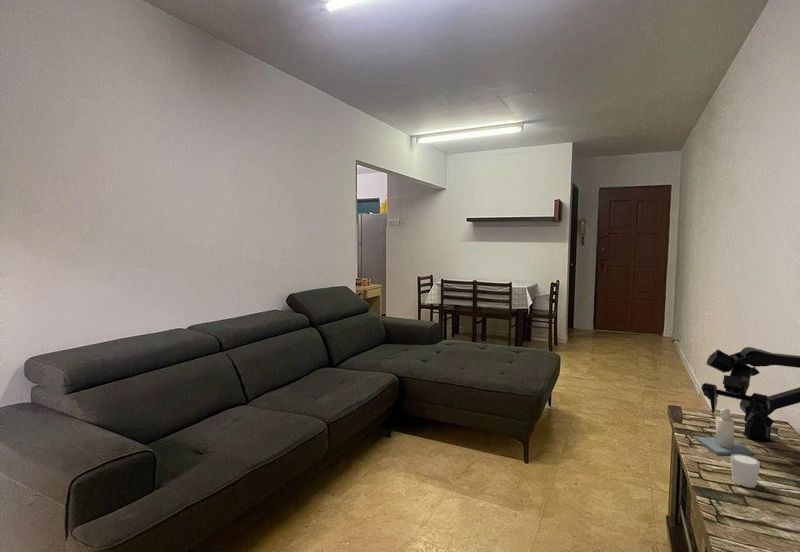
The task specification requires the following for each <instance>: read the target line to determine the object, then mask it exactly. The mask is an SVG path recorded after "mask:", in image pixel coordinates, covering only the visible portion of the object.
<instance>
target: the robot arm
mask: <svg viewBox="0 0 800 552" xmlns="http://www.w3.org/2000/svg"><path fill="white" fill-rule="evenodd" d="M706 365H707V366H709V367H711V368H713V369H715V370H717V371H719V372H721V373H723V374H725V373H730V374H729V375H727V374H725V375H723V379H722V384H723V388H724V389H725V390H723V389H718V387H717V385H716V384H712V383H708V382H704V383H702V385H701V387H700V388H701V391H702V394H703V395H704V397H706V398H707V399H708V400H710V406H711V414H714V413H715V412H716V408H717V404H718V397H719V396H722V397H727V398H731V399H736V400H740V402H739V408H740V410H741V411H742V412H743V413H744V414H745V415H744V422H745V424H744V432H742V435H743V436H746V437H747V438H749V439H751V440H752V441H755V442H775V439H773V438H771V427H772V425H773V424H774V420H773V419H772V418H771V417H769V416H770V415H771V414H772V413H774V412H775V411H776V410H778V409H782V408H786V407H789V406H793V405H796V404H799V403H800V386H799V387H796V388H793V389H789V390H785V391H782V392H779V393H776V394H772V395H766V394H761V393H757V392H753V393H752V395H747V391H748V390H749V387H750V382H751V377H755V376H756V375H759V374H760V371H759V370H758V369H757V368H758V367H759V368H760V367H770V366H780V367H788V368H789V367H790V368H797V369H798V368H800V355H794V354H785V353H776V352H775V353H773V352H771V351H767V350H763V349H759V348H756V347H750V346H747V347H746V346H745V347H744V348H743V349H741V350H740V351H739V352H735V353H733V354H730V355H729V354H728V353H725V352H724V351H722V350H720V349H718V348H717V349H716V351H714V352H712V354H710V355H709V356H708V358H707V359H706Z"/></svg>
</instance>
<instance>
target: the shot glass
mask: <svg viewBox="0 0 800 552" xmlns="http://www.w3.org/2000/svg"><path fill="white" fill-rule="evenodd" d="M730 466H731V467H730V468H731V478H732V481H733V482H734V483H735V484H737V485H739V486H741V485H742V487H745V488H756V487H757V486H756V485H757V484H758V478H759V472H760V466H761V462H760V461H759V460H758V459H756V458H755V457H752V456H751V455H741V454H733V455H730ZM755 486H756V487H755Z"/></svg>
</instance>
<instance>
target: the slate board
mask: <svg viewBox="0 0 800 552" xmlns="http://www.w3.org/2000/svg"><path fill="white" fill-rule="evenodd" d="M695 441H696V442H698V443H699V444H701V446H703V447H704V448H706V449H707V450H708V451H710V452H712V453H713V454H715V455H716V456H717V455H718V456H719V455H722V456H725V455H729V456H731V455H733V454H741V455H745V454H748V455H747V456H750V455H749V454H753V455H754V451H753V450H752V449H749V448H748V447H746V446H745V445H743V444H742V443H739V442H738V441H737V440H735V439H734V447H733V448H725V447H721V446H718V445H717V444H716V436H715V437H712V436H707V437H706V436H704V437H703V436H701V437H700V436H696V437H695ZM753 455H752V456H753Z"/></svg>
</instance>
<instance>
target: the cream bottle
mask: <svg viewBox="0 0 800 552" xmlns="http://www.w3.org/2000/svg"><path fill="white" fill-rule="evenodd" d="M719 412H720V415H719V416H716V417H715V437H716V444H717V445H718V446H721V447H725V448H733V447H734V440H735V420H734V419H733V418H731V410H730V409H729V408H727V407H720V411H719Z"/></svg>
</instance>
